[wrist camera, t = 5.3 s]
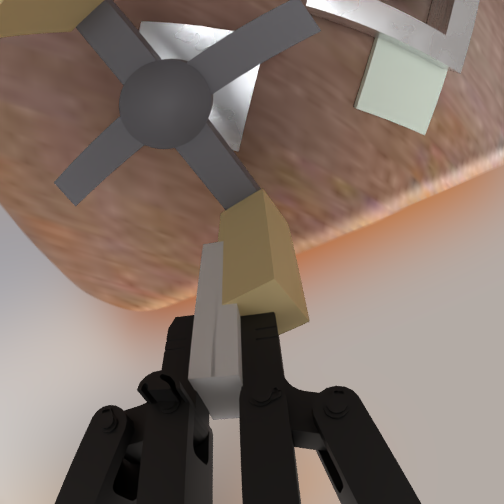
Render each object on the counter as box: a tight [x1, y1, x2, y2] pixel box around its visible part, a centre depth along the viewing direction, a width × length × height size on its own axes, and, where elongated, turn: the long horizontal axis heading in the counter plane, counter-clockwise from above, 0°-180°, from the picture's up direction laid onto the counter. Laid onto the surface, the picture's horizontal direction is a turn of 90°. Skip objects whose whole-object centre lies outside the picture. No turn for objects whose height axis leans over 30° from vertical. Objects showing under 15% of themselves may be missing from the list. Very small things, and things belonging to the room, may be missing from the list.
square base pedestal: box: [139, 21, 260, 151], centre depth 16 cm, size 8×8×7 cm
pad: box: [354, 37, 447, 135], centre depth 19 cm, size 6×6×1 cm
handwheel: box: [0, 0, 321, 335], centre depth 10 cm, size 16×14×8 cm
